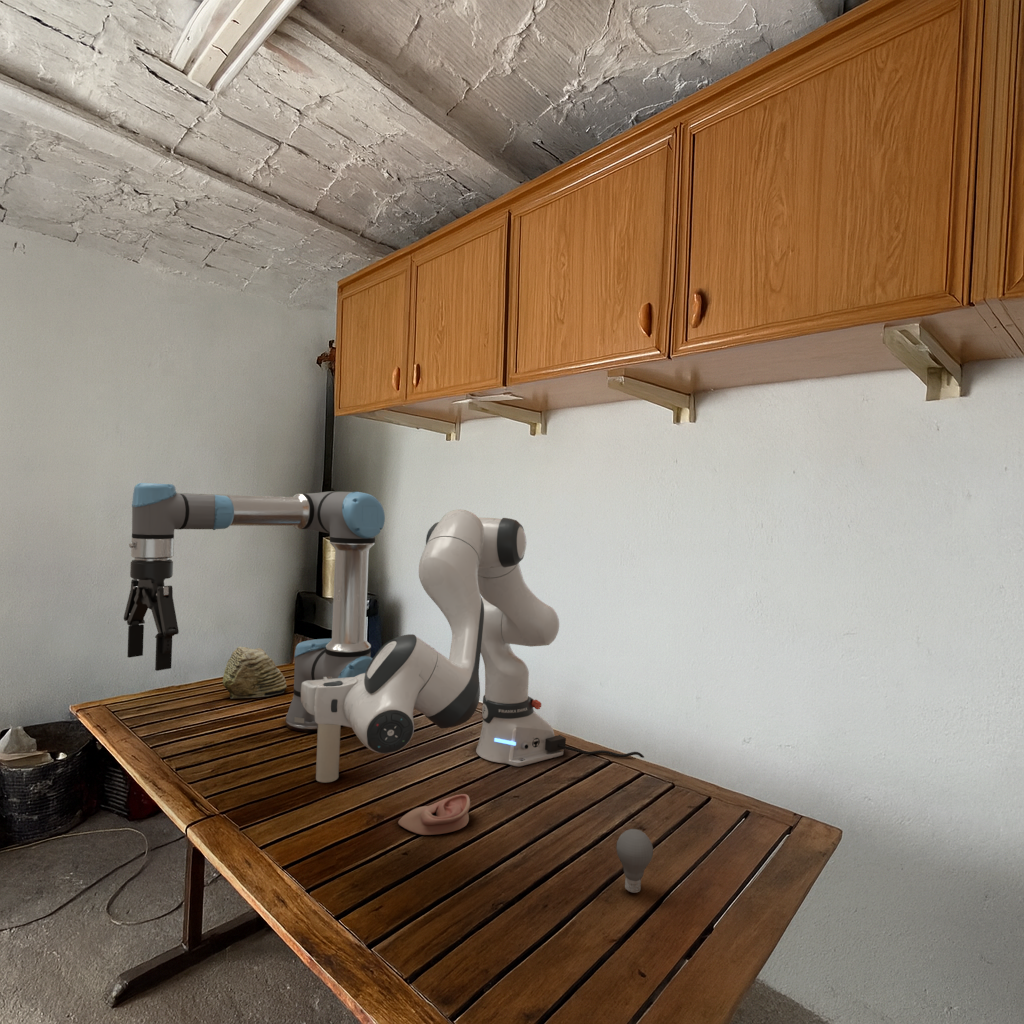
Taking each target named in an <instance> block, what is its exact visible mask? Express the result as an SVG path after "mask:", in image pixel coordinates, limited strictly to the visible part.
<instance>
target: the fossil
mask: <svg viewBox="0 0 1024 1024" xmlns="http://www.w3.org/2000/svg"><path fill="white" fill-rule="evenodd" d="M222 676H223V677H222V685H223V687H224V688H225V690H226V691H228V693H229V698H230V699H250V698H264V697H271V696H275V695H281V694H284V693H285V691H286V689H287V687H288V686H287V680H286V678H285V676H284V674H283V673H282V672H281V669H279V668H278V667H277V665H276V663H275V662H274V660H273V659H272V658H271V657H270V656H269V655H268V654H267V653H266V652H265V650H264V649H263V648H260V647H258V648H251V647H247V646H246V647H245V646H238V647H237V648H236V649H235V650H233V651H232V653H231V656H230V657H229V659H228V660H227V663H226V666H225V668H224V671H223V675H222Z"/></svg>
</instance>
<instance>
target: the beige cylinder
mask: <svg viewBox="0 0 1024 1024" xmlns="http://www.w3.org/2000/svg"><path fill="white" fill-rule="evenodd" d="M341 726H342V725H330V724H318V731H317V732H316V733H317V734H316V736H317V737H316V758H315V759H316V760H315V762H316V763H315V780H316V781H317V782H319V783H326V784H327V783H332V782H335V781H337V780H338V779H339V777H340V756H341V730H342V729H341V728H342V727H341Z"/></svg>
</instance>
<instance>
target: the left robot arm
mask: <svg viewBox="0 0 1024 1024" xmlns="http://www.w3.org/2000/svg"><path fill="white" fill-rule="evenodd" d="M385 515H386V513H385V511H384V508H383V505H382V503H381V502H380V501H379V500H378V498H377V497H375V495H373V494H370V493H367V492H363V491H362V492H361V491H337V490H336V491H335V490H333V491H332V490H330V491H321V492H311V493H295V494H294V495H293V496H276V495H275V496H274V495H273V496H272V495H248V494H247V495H246V494H244V495H243V494H220V493H219V494H218V493H217V494H216V493H215V494H214V493H189V492H187V493H186V492H177V491H176V486H175V485H174V484H173V483H152V482H139V483H137V484H136V485H135V486H134V488H133V492H132V501H131V520H132V521H131V542H130V543H128V547H129V548H130V549H131V550H130V556H131V558H133V559H132V560H131V561H130V567H129V568H130V571H129V574H130V575H129V576H130V578H131V581H130V590H129V594H128V598H127V603H126V607H125V610H124V615H123V621H124V622H126V624H127V626H128V629H127V630H128V631H127V658H135V657H142V656H144V635H145V634H144V630H145V625H144V624H145V623H146V621H145V619H144V618H145V616H146V615H147V612H148V609H149V610H151V613H152V618H153V620H154V624H155V627H156V631H157V633H156V635H155V636H154V638H155V661H154V663H155V665H154V668H155V669H154V670H155V671H157V672H159V671H164V670H169V669H172V659H173V657H172V655H173V637H175V636H176V635H179V632H180V631H179V625H178V619H177V615H176V614H177V613H176V609H175V603H174V597H173V595H174V593H173V585H165V580H167V579H171V578H172V577H173V575H174V573H173V572H174V561H173V560H172V559H171V558H173V557H174V554H175V553H174V552H175V530H213V531H215V530H224V529H228V528H230V526H233V527H234V526H237V527H238V526H240V527H243V526H246V527H247V526H249V527H250V526H258V527H259V526H268V527H269V526H276V527H277V526H282V527H284V526H285V527H286V526H287V527H288V526H289V527H290V526H291V527H293V528H294V529H296V530H308V531H309V530H310V531H316V532H319V533H325V534H329V544H330V545H331V546H332V547H333V548H334V550H335V551H334V572H333V573H334V577H333V599H332V625H331V626H332V627H331V638H317V639H308V640H304V641H300V642H299V643H297V645H296V646H295V650H294V655H293V657H294V672H293V673H294V674H293V695H292V696H293V697H292V699H291V702H290V704H289V708H288V711H287V713H286V715H285V726H286V728H287V729H289V730H291V731H294V732H295V731H296V732H301V733H317V731H318V724H317V723H316V722H315V716H314V715H311V714H310V713H308V712H307V711H306V709H305V708H304V706H303V705H302V702H301V684H302V682H304V681H308V680H321V679H323V677H329V676H331V677H332V678H333V679H334V678H347V677H355V676H357V675H360V674H363V673H365V672H366V670H367V668H368V666H369V664H370V662H371V660H372V659H373V657H371V652H372V649H371V648H372V644H371V643H370V642H368V640H367V639H366V631H367V607H368V606H367V605H368V604H367V602H368V582H369V581H368V579H369V555H370V553H369V552H370V550H371V548H372V547H374V545H375V544H376V536H378V535H379V534H380V533H381V530H383V528H384V526H385V522H386V521H385V520H386V516H385Z"/></svg>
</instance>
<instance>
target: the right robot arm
mask: <svg viewBox="0 0 1024 1024" xmlns="http://www.w3.org/2000/svg"><path fill="white" fill-rule="evenodd" d="M526 549H527V536H526V533H525V528H524V526H523V525H522V524H521V523H520V522H519V521H518V520H517V519H513V518H508V517H502V518H496V517H495V518H494V517H479V516H478V515H476V514H475V513H474V512H471V511H469V510H466V509H454V510H450V511H448V512H447V513H445V514H444V515H443V516H442V517H441V519H440V520H439V521H437V522H435V523H434V524H433V525H431V526H430V528H429V529H428V530H427V533H426V538H425V546H424V548H423V551H422V554H421V556H420V559H419V564H418V579H419V582H420V584H421V586H422V588H423V590H424V591H425V593H426V595H427V596H428V597H429V598H430V599H431V601H432V602H433V603H434V604H435V605H436V606H437V607H438V608H439V610H440V612H441V613H442V615H443V616H444V617H445V619H446V620H447V622H448V624H449V627H450V630H451V641H450V650H449V657H447V656H445V655H444V654H442V653H441V652H439V651H438V650H436V649H435V648H434V647H432V646H431V645H430V644H428V643H427V642H426V641H424V640H422V639H421V638H419V637H418V636H417V635H416V634H411V633H410V634H404V635H400V636H397V637H394V638H392V639H390V640H388V641H387V642H385V643H383V644H382V646H381V647H380V648H379V649H378V650H377V652H376V653H375V654H374V656H373V657H372V658H373V659H372V660H371V662H370V664H369V666H368V668H367V670H366V672H365V673H363V674H360V675H357V676H355V677H347V678H334V679H333V678H332V677H331V676H329V677H323V679H321V680H308V681H304V682H302V684H301V702H302V705H303V706H304V708H305V709H306V711H307V712H308V713H310V714H311V715H314V716H315V722H316V723H317V724H330V725H341V726H343V727H347V728H351V729H352V731H353V733H354V734H355V736H356V737H357V738H358V740H359V741H360V742H361V743H362V745H363V746H364V747H366V748H367V749H369V750H370V751H372V752H374V753H378V754H393V753H396V752H399V751H400V750H402V749H403V748H405V747H406V746H408V744H409V743H410V741H411V740H412V738H413V736H414V732H415V720H414V710H416V711H418V712H419V713H421V714H422V715H424V717H426V718H427V719H428V720H429V721H430V722H431V723H433V724H434V725H436V726H437V728H439V729H449V728H455V727H459V726H460V725H462V724H464V723H467V722H468V721H469V720H470V719H471V718H472V717H473V716H474V714H475V712H476V710H477V709H478V706H479V703H480V699H481V698H480V697H481V684H480V683H481V682H480V663H481V662H480V661H481V658H482V661H483V665H484V695H483V696H482V706H481V715H482V717H481V718H482V725H481V730H480V734H479V739H478V743H477V746H476V749H475V752H476V754H477V756H479V757H480V758H482V759H484V760H486V761H489V762H492V763H499V764H506V765H510V766H513V767H523V766H527V765H532V764H535V763H538V762H542V761H543V762H544V761H547V760H549V759H553V758H557V757H561V756H563V755H564V753H565V752H564V750H568V751H572V752H576V753H578V754H583V755H590V756H591V755H598V754H605V755H610V756H614V757H618V758H628V757H632V756H638V757H640V758H642V759H643V758H645V756H644V754H642V753H641V752H639V751H631V752H628V753H616V752H613V751H609V750H603V749H601V750H600V749H599V750H593V751H586V750H581V749H578V748H575V747H570V746H567V737H565V736H563V735H561V734H558V735H555V731H554V729H553V726H552V725H551V724H550V722H548V720H546V719H544V718H543V717H542V716H541V715H540V714H539V713H537V712H536V711H535V710H540V709H541V708H542V706H543V705H542V702H541V701H539V700H538V699H534V698H533V697H531V696H529V686H530V685H529V684H530V683H529V682H530V670H529V667H528V665H527V663H526V662H525V661H524V660H523V659H522V658H520V657H518V656H517V655H516V654H515V652H514V651H513V649H512V647H511V645H516V646H522V647H523V646H524V647H543V646H545V647H546V646H549V645H551V644H552V643H553V642H554V641H555V639H556V638H557V637H558V635H559V631H560V619H559V616H558V613H557V612H556V610H555V609H554V608H553V606H550V605H548V604H547V603H545V602H543V601H542V600H541V599H540V598H538V597H537V595H536V594H535V593H534V592H533V591H532V590H531V589H530V588H529V586H528V585H527V583H526V581H525V579H524V576H523V573H522V570H521V565H520V563H521V561H522V560H523V559H524V557H525V554H526ZM534 709H535V710H534Z"/></svg>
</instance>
